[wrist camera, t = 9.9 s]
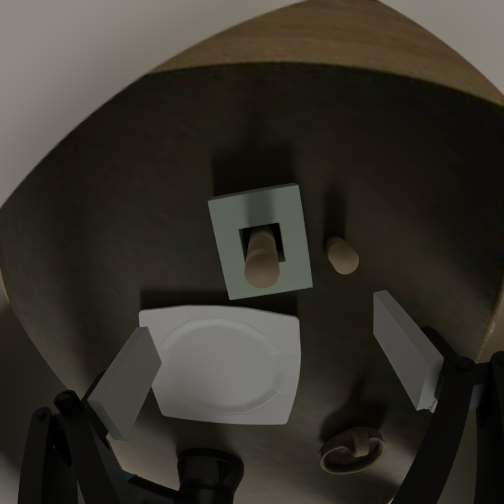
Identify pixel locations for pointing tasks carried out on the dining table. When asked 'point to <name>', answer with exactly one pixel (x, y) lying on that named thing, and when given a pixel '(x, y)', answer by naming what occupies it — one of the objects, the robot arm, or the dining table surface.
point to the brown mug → (352, 450)
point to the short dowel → (340, 255)
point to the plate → (225, 363)
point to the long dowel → (262, 258)
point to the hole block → (255, 214)
